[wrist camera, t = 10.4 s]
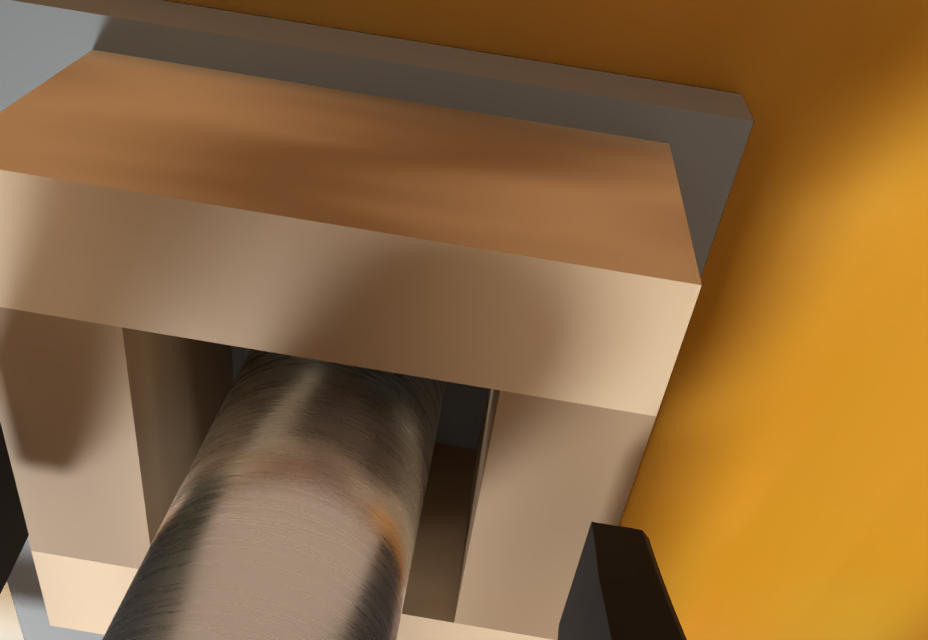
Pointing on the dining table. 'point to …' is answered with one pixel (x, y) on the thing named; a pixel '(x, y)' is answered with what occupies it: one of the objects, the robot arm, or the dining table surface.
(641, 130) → the board
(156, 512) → the socket
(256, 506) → the peg
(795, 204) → the dining table surface
